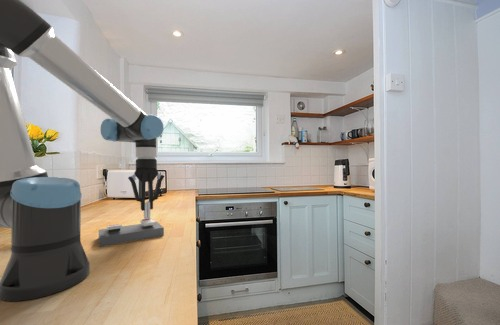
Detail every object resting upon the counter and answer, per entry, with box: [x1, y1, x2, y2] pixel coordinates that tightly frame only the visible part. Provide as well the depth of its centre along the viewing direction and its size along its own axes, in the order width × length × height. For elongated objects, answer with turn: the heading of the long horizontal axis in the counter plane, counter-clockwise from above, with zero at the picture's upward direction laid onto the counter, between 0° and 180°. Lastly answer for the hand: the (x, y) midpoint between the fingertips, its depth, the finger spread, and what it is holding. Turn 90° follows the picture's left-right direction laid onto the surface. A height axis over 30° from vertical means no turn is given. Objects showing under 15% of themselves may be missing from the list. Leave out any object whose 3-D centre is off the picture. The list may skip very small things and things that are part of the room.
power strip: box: [98, 221, 165, 248], centre depth 83 cm, size 11×20×4 cm, turn 125°
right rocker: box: [139, 217, 156, 226], centre depth 86 cm, size 7×4×1 cm, turn 35°
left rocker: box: [106, 223, 122, 230], centre depth 80 cm, size 7×4×1 cm, turn 35°
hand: (147, 218), depth 89 cm, fingers closed, pressing on right rocker
